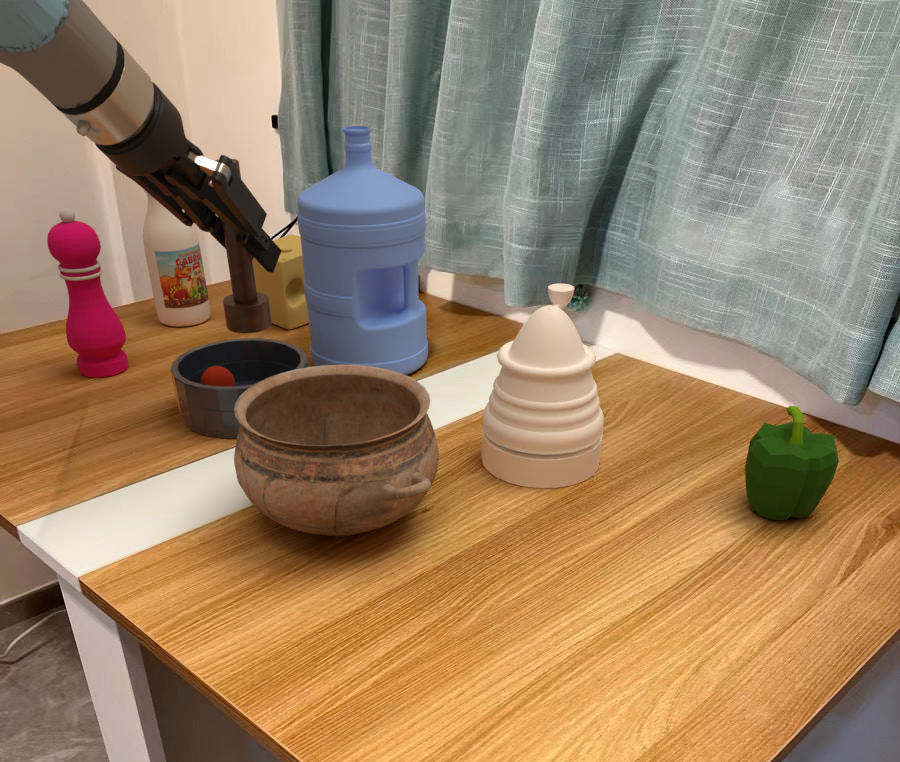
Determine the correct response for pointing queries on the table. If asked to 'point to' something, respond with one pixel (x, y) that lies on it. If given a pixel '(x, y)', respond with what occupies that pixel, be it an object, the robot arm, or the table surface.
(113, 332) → the pepper mill
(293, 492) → the cooking pot
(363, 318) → the water jug
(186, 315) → the milk bottle
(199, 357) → the bowl
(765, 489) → the bell pepper
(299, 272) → the cheese
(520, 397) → the honey pot
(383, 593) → the table surface
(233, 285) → the wooden peg on base
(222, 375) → the ball
